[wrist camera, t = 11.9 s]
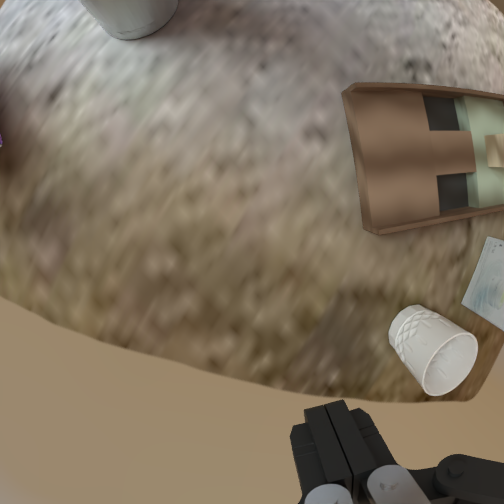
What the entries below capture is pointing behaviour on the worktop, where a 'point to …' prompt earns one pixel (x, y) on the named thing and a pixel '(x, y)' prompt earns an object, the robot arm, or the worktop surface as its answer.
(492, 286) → the skincare box
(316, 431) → the robot arm
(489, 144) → the maple block
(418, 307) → the white cup
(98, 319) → the worktop surface
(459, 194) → the box
